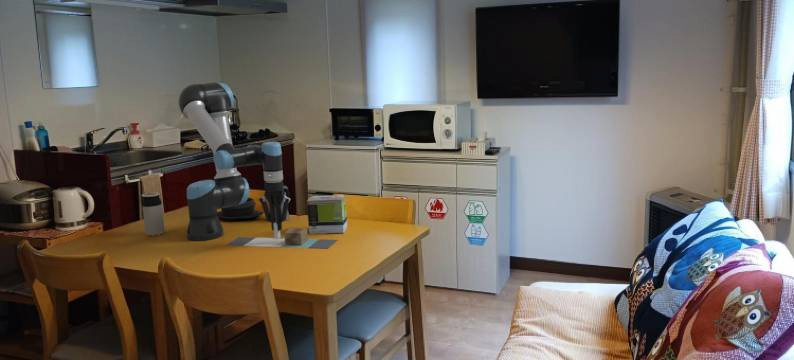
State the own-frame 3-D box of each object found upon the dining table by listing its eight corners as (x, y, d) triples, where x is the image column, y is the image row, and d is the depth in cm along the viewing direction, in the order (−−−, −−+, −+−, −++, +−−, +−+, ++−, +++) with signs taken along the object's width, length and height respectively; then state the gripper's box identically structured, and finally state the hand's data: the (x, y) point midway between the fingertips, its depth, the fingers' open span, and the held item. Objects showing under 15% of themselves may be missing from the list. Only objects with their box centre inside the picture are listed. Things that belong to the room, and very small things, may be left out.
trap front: (308, 249, 258) (308, 247, 258) (319, 240, 270) (319, 239, 270) (328, 249, 256) (327, 248, 256) (337, 241, 268) (337, 239, 268)
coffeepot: (263, 219, 309) (260, 181, 305) (280, 215, 315) (277, 178, 312) (282, 224, 298) (279, 185, 294) (299, 220, 304) (296, 182, 301)
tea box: (347, 227, 287) (345, 194, 285) (343, 233, 277) (341, 199, 275) (313, 228, 289) (311, 195, 286) (308, 234, 279) (306, 200, 276)
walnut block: (285, 245, 263) (284, 232, 262) (291, 240, 270) (291, 228, 269) (301, 245, 261) (300, 233, 261) (308, 240, 268) (307, 228, 267)
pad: (280, 248, 261) (280, 246, 261) (291, 239, 272) (291, 238, 272) (308, 249, 258) (308, 247, 258) (319, 240, 270) (319, 239, 270)
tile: (243, 247, 265) (242, 245, 265) (256, 239, 276) (256, 237, 276) (280, 248, 261) (280, 246, 261) (291, 239, 272) (291, 238, 272)
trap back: (224, 246, 267) (224, 245, 267) (238, 238, 278) (238, 237, 278) (243, 247, 265) (242, 245, 265) (256, 239, 276) (256, 237, 276)
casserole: (272, 214, 318) (270, 197, 316) (248, 224, 301) (247, 206, 300) (230, 211, 328) (228, 195, 326) (205, 220, 311) (203, 203, 310)
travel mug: (149, 237, 284) (145, 196, 281) (142, 234, 290) (138, 194, 287) (167, 233, 289) (163, 193, 286) (160, 230, 295) (156, 191, 292)
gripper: (254, 182, 261) (258, 240, 265) (285, 183, 258) (289, 241, 263) (262, 178, 268) (266, 234, 273) (292, 179, 265) (296, 236, 270)
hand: (277, 237), depth 268 cm, fingers closed
